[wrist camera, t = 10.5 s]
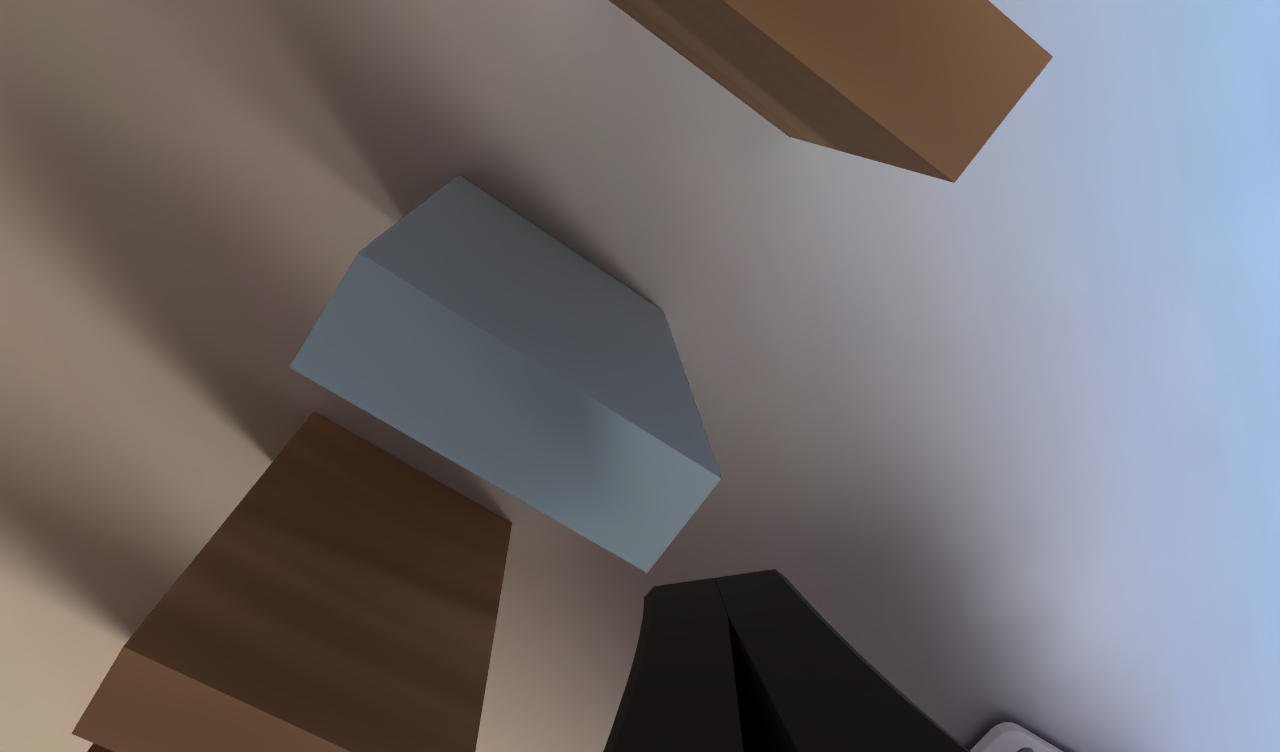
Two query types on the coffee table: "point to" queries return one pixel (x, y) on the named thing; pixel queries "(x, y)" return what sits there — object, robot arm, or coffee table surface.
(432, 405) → the domino
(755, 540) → the coffee table surface
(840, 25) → the domino
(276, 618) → the domino
